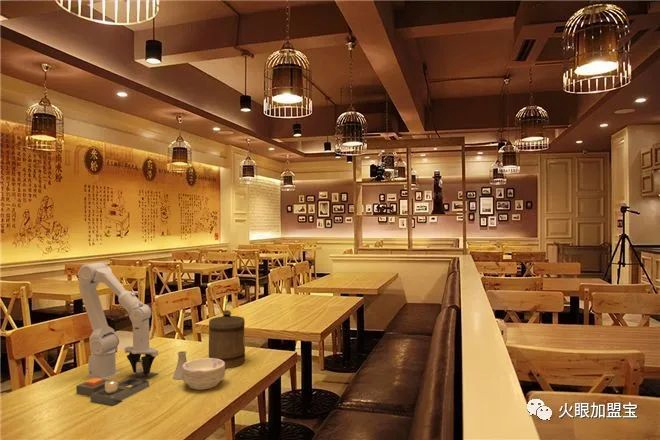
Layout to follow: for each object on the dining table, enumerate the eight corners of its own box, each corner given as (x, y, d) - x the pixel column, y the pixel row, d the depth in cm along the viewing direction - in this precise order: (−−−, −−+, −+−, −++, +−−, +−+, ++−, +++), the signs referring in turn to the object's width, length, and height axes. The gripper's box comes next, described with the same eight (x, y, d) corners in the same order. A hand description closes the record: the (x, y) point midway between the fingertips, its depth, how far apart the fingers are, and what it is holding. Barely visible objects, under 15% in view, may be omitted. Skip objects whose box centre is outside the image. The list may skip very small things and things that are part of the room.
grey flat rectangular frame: (90, 401, 151) (90, 394, 151) (127, 384, 166) (127, 377, 166) (113, 405, 148) (113, 398, 148) (149, 387, 163) (149, 381, 162)
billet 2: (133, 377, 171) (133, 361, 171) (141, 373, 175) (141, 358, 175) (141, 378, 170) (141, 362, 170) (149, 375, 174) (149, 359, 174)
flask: (186, 382, 168) (185, 355, 168) (168, 381, 169) (168, 354, 169) (195, 375, 175) (195, 349, 175) (178, 374, 176) (178, 348, 176)
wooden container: (252, 360, 192) (251, 309, 191) (226, 371, 179) (226, 316, 179) (227, 355, 200) (226, 305, 199) (201, 364, 187) (200, 312, 187)
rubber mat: (123, 380, 170) (123, 378, 170) (141, 372, 178) (141, 371, 178) (142, 383, 167) (142, 381, 167) (159, 375, 175) (159, 373, 175)
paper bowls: (233, 381, 169) (233, 360, 169) (206, 396, 155) (206, 373, 155) (201, 375, 175) (201, 354, 175) (172, 389, 161) (172, 367, 161)
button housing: (76, 394, 157) (76, 385, 157) (95, 385, 165) (95, 377, 165) (93, 397, 155) (93, 388, 155) (112, 388, 162) (112, 380, 162)
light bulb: (102, 400, 152) (102, 382, 152) (111, 396, 156) (111, 378, 156) (111, 402, 150) (111, 384, 150) (120, 397, 154) (120, 380, 154)
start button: (86, 390, 159) (85, 381, 159) (95, 386, 162) (95, 377, 162) (94, 391, 157) (94, 382, 157) (103, 387, 161) (103, 379, 161)
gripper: (118, 338, 171) (118, 374, 171) (148, 342, 166) (149, 378, 166) (132, 333, 178) (132, 368, 178) (161, 337, 173) (162, 372, 173)
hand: (141, 372), depth 173 cm, fingers open, 5 cm apart
